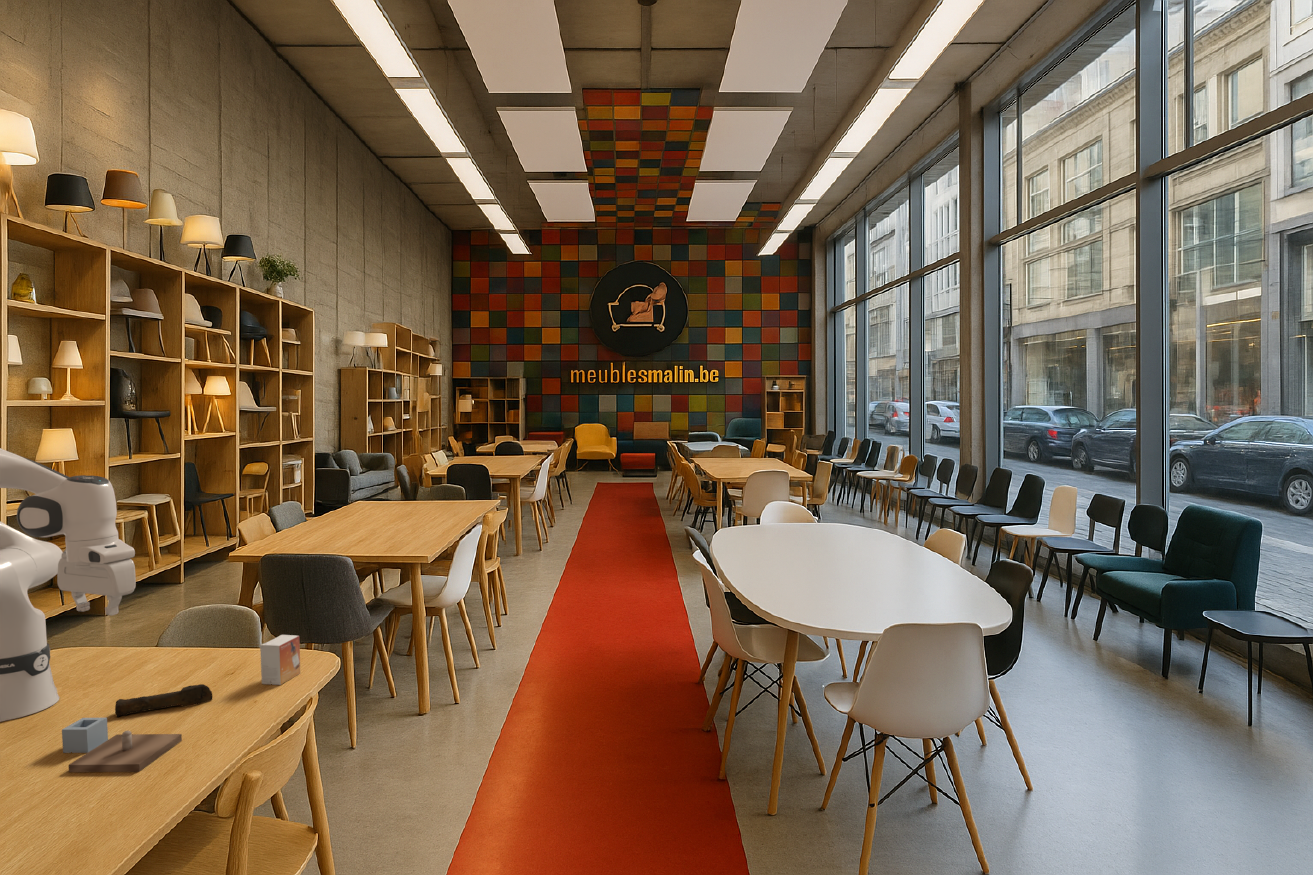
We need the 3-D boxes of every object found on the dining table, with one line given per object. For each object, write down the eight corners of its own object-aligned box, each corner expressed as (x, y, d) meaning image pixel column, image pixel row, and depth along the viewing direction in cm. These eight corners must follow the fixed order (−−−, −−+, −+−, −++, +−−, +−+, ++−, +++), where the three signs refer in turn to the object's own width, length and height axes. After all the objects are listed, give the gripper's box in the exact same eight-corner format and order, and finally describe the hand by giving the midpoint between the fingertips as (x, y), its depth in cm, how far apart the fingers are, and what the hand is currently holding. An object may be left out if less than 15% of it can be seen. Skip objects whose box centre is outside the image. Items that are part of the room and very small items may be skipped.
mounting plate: (68, 772, 133) (67, 746, 133) (117, 741, 145) (115, 717, 145) (139, 771, 133) (138, 745, 133) (181, 740, 145) (180, 716, 145)
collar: (63, 752, 141) (61, 729, 140) (84, 740, 146) (82, 717, 145) (88, 752, 141) (86, 729, 140) (108, 739, 146) (106, 717, 145)
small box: (280, 685, 173) (278, 645, 172) (261, 684, 174) (259, 644, 173) (301, 673, 181) (300, 635, 180) (282, 671, 182) (281, 633, 181)
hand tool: (113, 720, 155) (112, 700, 155) (120, 712, 159) (119, 693, 159) (209, 706, 162) (208, 687, 162) (213, 699, 166) (212, 681, 166)
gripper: (45, 550, 146) (50, 612, 147) (108, 556, 139) (112, 621, 140) (78, 544, 152) (83, 604, 153) (140, 549, 145) (144, 612, 146)
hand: (97, 612), depth 146 cm, fingers open, 8 cm apart
